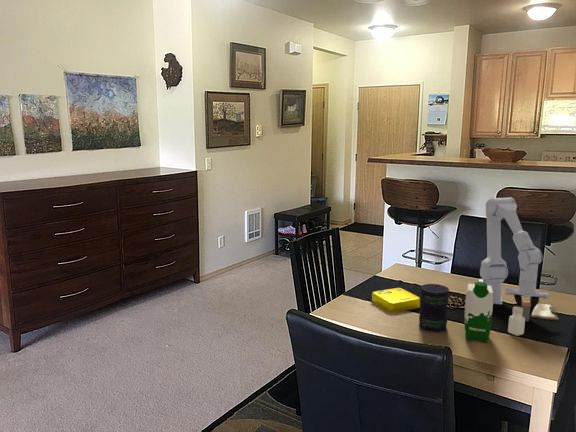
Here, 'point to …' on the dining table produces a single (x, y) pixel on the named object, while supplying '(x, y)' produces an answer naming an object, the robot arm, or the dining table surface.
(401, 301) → the element tile
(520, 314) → the salt shaker
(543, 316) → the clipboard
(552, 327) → the dining table surface
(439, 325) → the storage jar
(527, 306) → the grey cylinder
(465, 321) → the milk carton
